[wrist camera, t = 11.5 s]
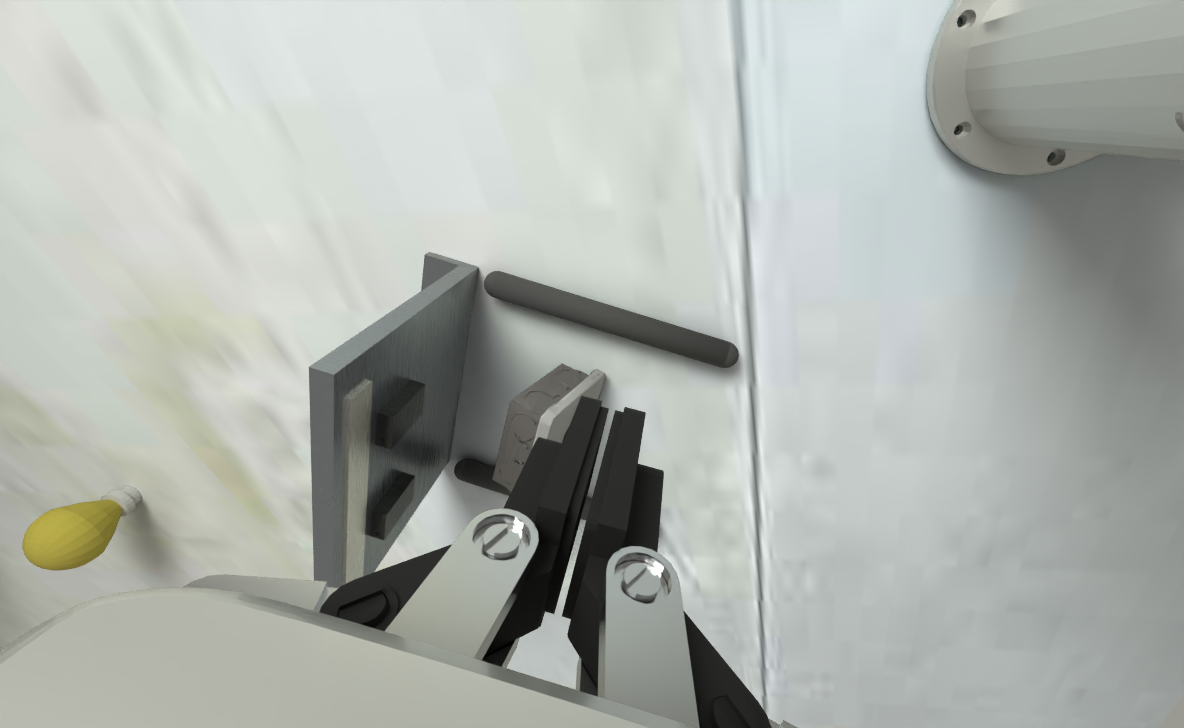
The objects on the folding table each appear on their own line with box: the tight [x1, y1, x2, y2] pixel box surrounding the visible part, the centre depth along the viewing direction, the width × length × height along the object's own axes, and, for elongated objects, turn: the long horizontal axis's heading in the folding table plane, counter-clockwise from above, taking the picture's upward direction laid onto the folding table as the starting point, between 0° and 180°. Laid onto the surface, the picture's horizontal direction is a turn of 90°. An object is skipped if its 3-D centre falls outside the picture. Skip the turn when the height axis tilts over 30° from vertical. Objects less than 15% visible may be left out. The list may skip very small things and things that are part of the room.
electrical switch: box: [492, 364, 606, 492], centre depth 39 cm, size 9×5×9 cm, turn 164°
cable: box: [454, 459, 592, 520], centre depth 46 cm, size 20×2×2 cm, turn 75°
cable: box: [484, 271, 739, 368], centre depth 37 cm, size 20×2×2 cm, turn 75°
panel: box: [309, 252, 478, 588], centre depth 35 cm, size 5×20×18 cm, turn 165°
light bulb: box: [22, 486, 142, 570], centre depth 54 cm, size 7×7×10 cm
